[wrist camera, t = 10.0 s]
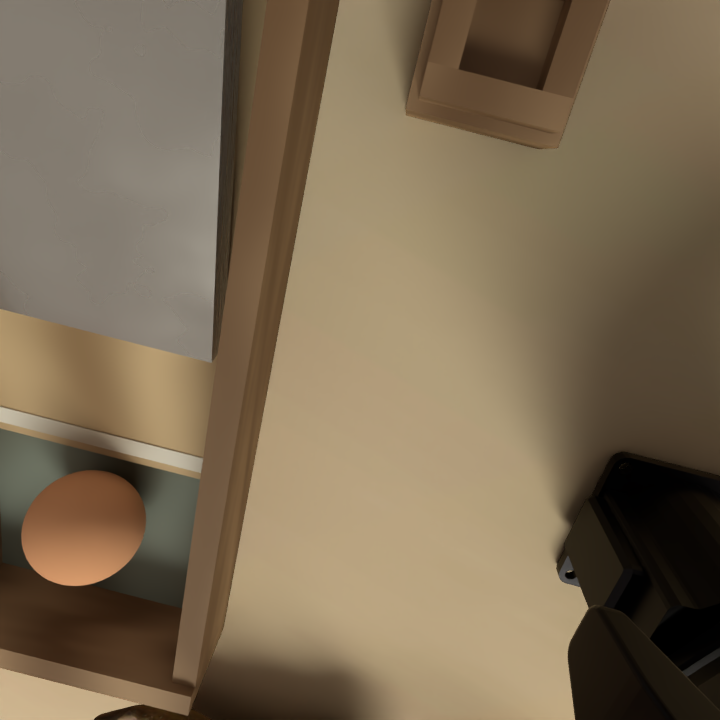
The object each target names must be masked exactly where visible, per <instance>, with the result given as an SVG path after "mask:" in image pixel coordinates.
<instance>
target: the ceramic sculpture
mask: <svg viewBox="0 0 720 720" xmlns="http://www.w3.org/2000/svg"><path fill="white" fill-rule="evenodd" d="M94 720H211V719H210V718H208V717H206V716H204V715H203V714H201V713H199V712H197V711H195V710H193V709H191V710H190V712H189V715H188V716H187V715H183V714H179V713H175V712H171V711H167V710H163V709H159V708H156V707H152V706H148V705H144V704H143V705H135V706H131V707H127V708H123V709H119V710H115V711H111V712H107V713H104V714H100V715H99V716H97V717H96V718H95V719H94Z"/></svg>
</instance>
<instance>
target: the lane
mask: <svg viewBox="0 0 720 720" xmlns="http://www.w3.org/2000/svg"><path fill="white" fill-rule="evenodd" d="M338 5H339V0H243V13H242V30H241V48H240V66H239V84H238V102H237V120H236V138H235V155H234V173H233V191H232V209H231V227H230V245H229V263H228V280H227V290H226V298H225V305H224V312H223V319H222V326H221V333H220V341H219V348H218V354H217V356H216V357H215V359H214V360H213V362H212V363H210V362H206V361H202V360H198V359H194V358H190V357H186V356H182V355H178V354H174V353H171V352H167V351H163V350H159V349H155V348H151V347H147V346H143V345H139V344H135V343H131V342H128V341H124V340H120V339H116V338H112V337H108V336H104V335H100V334H96V333H92V332H88V331H84V330H81V329H77V328H73V327H69V326H65V325H61V324H57V323H53V322H49V321H45V320H41V319H38V318H34V317H30V316H26V315H22V314H18V313H14V312H10V311H6V310H2V309H0V668H3V669H7V670H11V671H15V672H19V673H23V674H27V675H30V676H34V677H38V678H42V679H46V680H50V681H54V682H58V683H62V684H66V685H70V686H73V687H77V688H81V689H85V690H89V691H93V692H97V693H101V694H105V695H109V696H113V697H116V698H120V699H124V700H128V701H132V702H136V703H140V704H144V705H148V706H152V707H156V708H159V709H163V710H167V711H171V712H175V713H179V714H183V715H187V716H188V715H189V712H190V710H191V707H192V705H193V702H194V700H195V697H196V695H197V692H198V690H199V687H200V685H201V682H202V680H203V677H204V675H205V672H206V670H207V667H208V665H209V662H210V660H211V657H212V655H213V653H214V650H215V648H216V645H217V643H218V640H219V638H220V635H221V633H222V630H223V627H224V622H225V616H226V611H227V606H228V600H229V595H230V589H231V584H232V579H233V573H234V568H235V562H236V557H237V552H238V546H239V541H240V535H241V530H242V525H243V519H244V514H245V508H246V503H247V498H248V492H249V487H250V481H251V476H252V470H253V465H254V460H255V454H256V449H257V443H258V438H259V433H260V427H261V422H262V416H263V411H264V406H265V400H266V395H267V389H268V384H269V379H270V373H271V368H272V362H273V357H274V352H275V346H276V341H277V335H278V330H279V324H280V319H281V314H282V308H283V303H284V297H285V292H286V287H287V281H288V276H289V270H290V265H291V260H292V254H293V249H294V243H295V238H296V233H297V227H298V222H299V216H300V211H301V206H302V200H303V195H304V189H305V184H306V179H307V173H308V168H309V162H310V157H311V151H312V146H313V141H314V135H315V130H316V124H317V119H318V114H319V108H320V103H321V97H322V92H323V87H324V81H325V76H326V70H327V65H328V60H329V54H330V49H331V43H332V38H333V33H334V27H335V22H336V16H337V11H338ZM85 470H100V471H106V472H110V473H113V474H116V475H118V476H120V477H122V478H124V479H125V480H126V481H128V482H129V483H130V484H131V485H132V486H133V487H134V488H135V489H136V490H137V492H138V493H139V495H140V497H141V499H142V501H143V504H144V507H145V512H146V527H145V533H144V536H143V539H142V542H141V544H140V546H139V548H138V550H137V551H136V553H135V554H134V556H133V557H132V558H131V560H130V561H129V562H128V563H127V564H126V565H125V566H124V567H123V568H121V569H120V570H119V571H118V572H116V573H115V574H113V575H112V576H110V577H108V578H106V579H104V580H102V581H99V582H96V583H93V584H88V585H82V586H68V585H61V584H57V583H54V582H52V581H49V580H47V579H45V578H44V577H42V576H41V575H40V574H38V573H37V572H36V571H35V570H34V569H33V568H32V566H31V565H30V564H29V562H28V560H27V559H26V556H25V554H24V551H23V547H22V539H21V533H22V525H23V521H24V518H25V515H26V513H27V511H28V509H29V507H30V506H31V504H32V502H33V501H34V499H35V498H36V497H37V496H38V495H39V494H40V493H41V492H42V491H43V490H44V489H45V488H46V487H47V486H49V485H50V484H51V483H53V482H54V481H56V480H58V479H59V478H62V477H64V476H66V475H68V474H72V473H75V472H79V471H85Z"/></svg>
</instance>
